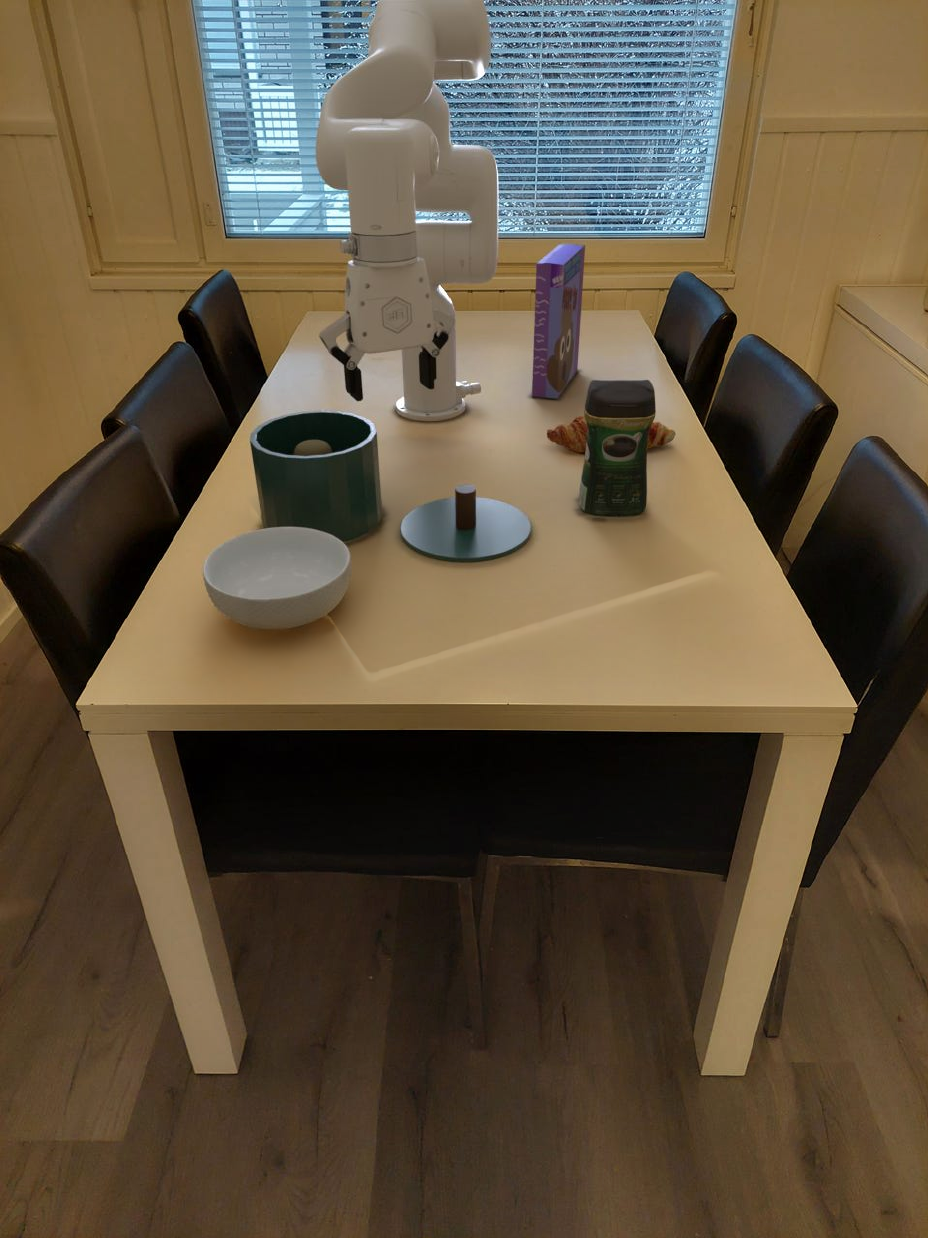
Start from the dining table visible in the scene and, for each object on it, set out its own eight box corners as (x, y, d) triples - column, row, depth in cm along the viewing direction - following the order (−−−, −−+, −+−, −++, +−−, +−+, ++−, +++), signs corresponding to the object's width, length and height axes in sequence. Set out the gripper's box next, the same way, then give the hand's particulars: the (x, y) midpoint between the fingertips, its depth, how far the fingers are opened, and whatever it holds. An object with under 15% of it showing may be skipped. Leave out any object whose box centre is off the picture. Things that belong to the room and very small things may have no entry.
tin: (356, 485, 134) (349, 402, 126) (400, 531, 121) (395, 442, 114) (249, 509, 127) (235, 423, 120) (284, 559, 115) (271, 467, 108)
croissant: (666, 457, 150) (666, 409, 149) (684, 451, 140) (685, 400, 139) (542, 459, 148) (542, 410, 148) (552, 453, 138) (552, 402, 138)
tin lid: (491, 494, 131) (492, 452, 127) (555, 546, 117) (558, 500, 114) (380, 520, 124) (377, 477, 120) (435, 578, 111) (434, 531, 107)
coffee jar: (641, 495, 130) (655, 371, 120) (648, 520, 123) (663, 391, 113) (575, 495, 130) (583, 371, 120) (579, 520, 124) (588, 391, 113)
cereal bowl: (289, 669, 95) (281, 614, 91) (181, 624, 103) (170, 572, 99) (382, 597, 107) (379, 546, 103) (280, 561, 115) (273, 513, 111)
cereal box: (556, 399, 164) (563, 263, 150) (531, 397, 165) (536, 261, 152) (577, 370, 177) (585, 243, 164) (554, 368, 179) (560, 242, 165)
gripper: (323, 260, 96) (337, 412, 105) (465, 246, 102) (466, 390, 112) (302, 248, 102) (317, 393, 111) (438, 235, 108) (441, 373, 117)
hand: (392, 391), depth 111 cm, fingers open, 9 cm apart
